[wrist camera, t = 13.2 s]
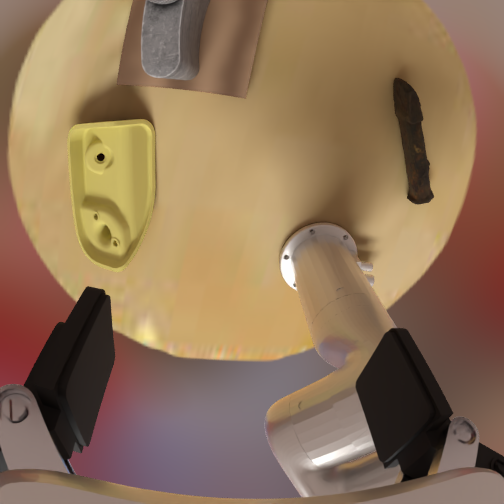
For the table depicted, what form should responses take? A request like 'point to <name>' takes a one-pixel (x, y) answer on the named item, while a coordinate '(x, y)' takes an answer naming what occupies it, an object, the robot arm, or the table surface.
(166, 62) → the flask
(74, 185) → the plastic component
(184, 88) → the brown flat square piece
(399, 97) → the hand tool
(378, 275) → the table surface
